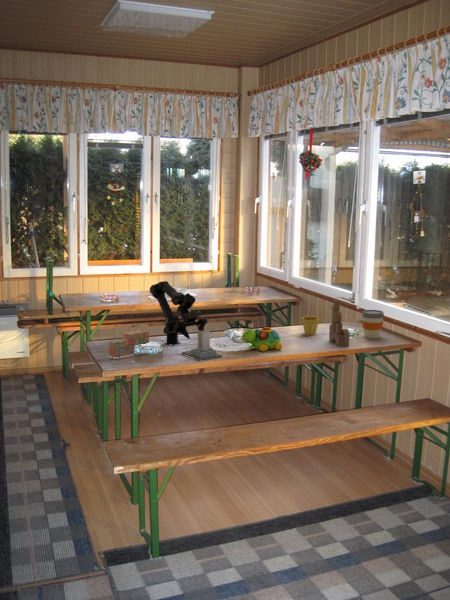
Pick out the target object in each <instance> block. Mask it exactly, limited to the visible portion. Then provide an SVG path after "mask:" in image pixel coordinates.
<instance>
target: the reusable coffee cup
mask: <svg viewBox="0 0 450 600" xmlns="http://www.w3.org/2000/svg"><path fill="white" fill-rule="evenodd" d="M384 313H385V312H384V311H382V310H378V309H366V310H362V315H361V316H362V329H363V335H364V338H368V339H379V338H380V337H381V333H382V330H383V325H384Z"/></svg>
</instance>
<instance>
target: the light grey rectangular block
mask: <svg viewBox="0 0 450 600" xmlns="http://www.w3.org/2000/svg"><path fill="white" fill-rule="evenodd" d="M210 338H211V332H210V331H209V330H206V329H204V330H203V331H199V330H198V331H197V348H198V351H199V352H201V353H202V352H208V351H210V348H211V341H210V340H211V339H210Z"/></svg>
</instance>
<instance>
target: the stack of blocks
mask: <svg viewBox="0 0 450 600" xmlns="http://www.w3.org/2000/svg"><path fill="white" fill-rule="evenodd" d="M146 343H149V344H150V337H149V331H147V330H145V329H140V330H139V329H138V330H137V329H136V330H133V331H132V330H131V331H127V332H123V333H122V338H117V339H112V340H108V343H107V344H108V346H107V348H108V356H109V355H110V356H112V357H120V356H125V355H130V354H134V346H135V345H138V344H146Z"/></svg>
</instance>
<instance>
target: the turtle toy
mask: <svg viewBox="0 0 450 600" xmlns="http://www.w3.org/2000/svg"><path fill="white" fill-rule="evenodd" d="M241 340H242V341H243V342H245V343H246V344H250V349H259V351H261V352H263V353H266V352H267V351H268V350H270V349H274V350H276V351H281V350H282V348H283V344H282V343H281V340H282V337H281V336H280V333H279V332H278V331H277V330H274V329H273V328H271V327H268V326H264V327H262V328H260V329H259V328H256V329H255V330H254V329H251V328H248V329H246V330H245V331H244V332H242V336H241ZM251 344H252V345H251ZM265 351H266V352H265Z"/></svg>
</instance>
